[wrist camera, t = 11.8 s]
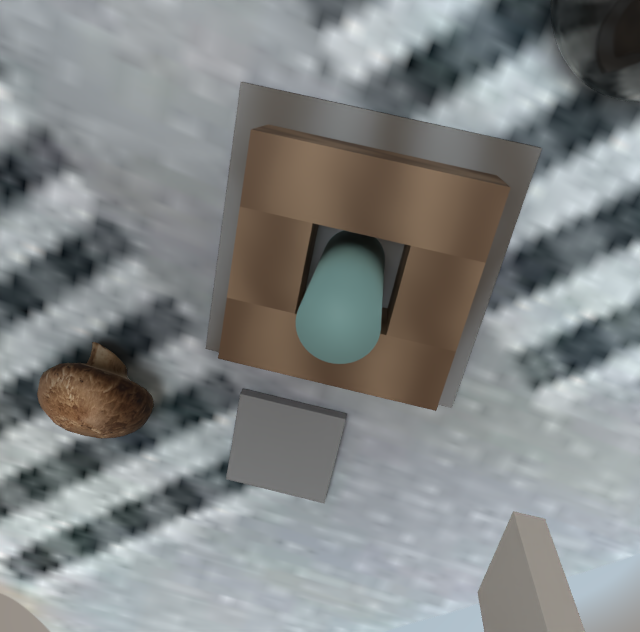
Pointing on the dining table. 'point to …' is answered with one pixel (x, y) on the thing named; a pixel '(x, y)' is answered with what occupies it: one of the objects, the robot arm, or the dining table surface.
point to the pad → (284, 445)
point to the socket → (367, 219)
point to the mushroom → (94, 396)
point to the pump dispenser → (601, 44)
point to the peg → (344, 300)
